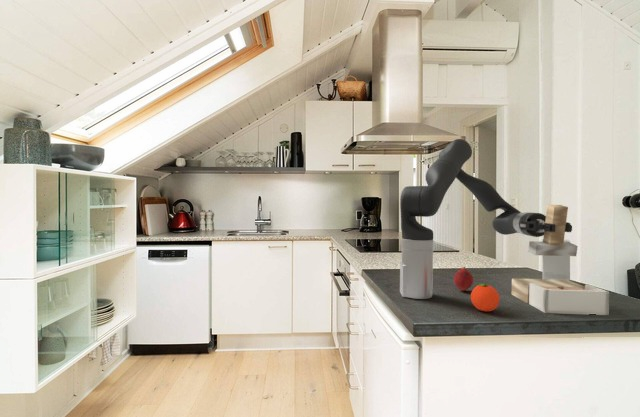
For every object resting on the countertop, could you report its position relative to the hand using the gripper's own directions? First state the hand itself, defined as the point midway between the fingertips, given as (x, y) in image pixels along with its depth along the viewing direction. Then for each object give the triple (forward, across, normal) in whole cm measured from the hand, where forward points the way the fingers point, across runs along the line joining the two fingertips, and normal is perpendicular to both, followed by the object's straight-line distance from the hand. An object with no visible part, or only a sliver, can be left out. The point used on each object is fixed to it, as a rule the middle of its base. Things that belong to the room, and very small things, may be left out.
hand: (562, 228), depth 97 cm
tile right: (-1, +4, +19) cm, 19 cm away
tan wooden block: (-7, 0, +22) cm, 23 cm away
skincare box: (-30, +15, +22) cm, 40 cm away
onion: (-14, -22, +22) cm, 34 cm away
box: (+3, 0, +22) cm, 22 cm away
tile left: (-1, -3, +19) cm, 19 cm away
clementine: (+6, -23, +22) cm, 32 cm away
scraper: (-5, 0, +8) cm, 9 cm away
